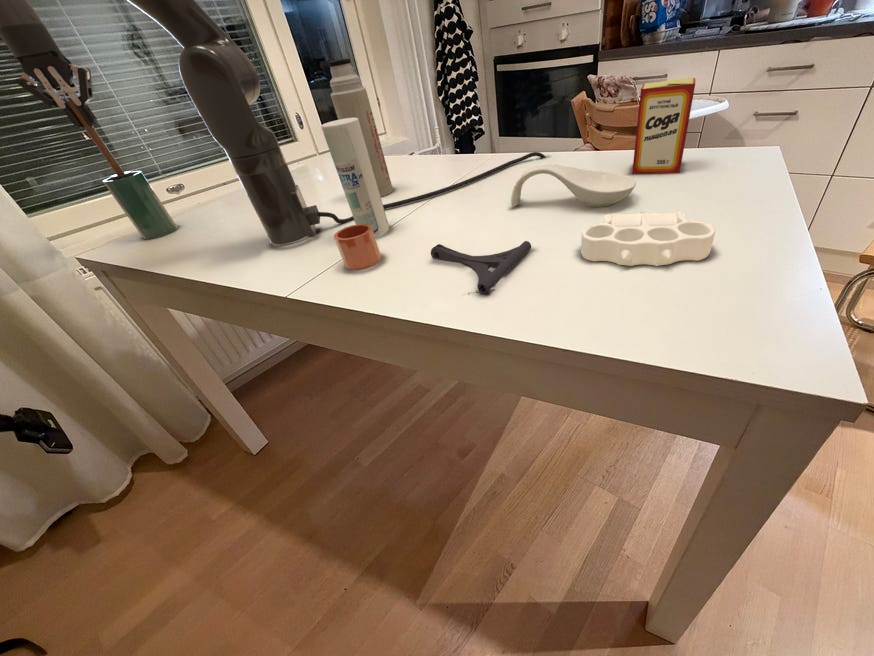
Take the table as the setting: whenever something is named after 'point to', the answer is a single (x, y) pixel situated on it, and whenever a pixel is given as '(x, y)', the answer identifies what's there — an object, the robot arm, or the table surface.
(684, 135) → the baking soda box
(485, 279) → the bracket
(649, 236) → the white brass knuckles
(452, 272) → the table surface
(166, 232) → the cup
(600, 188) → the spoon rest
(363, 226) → the holder
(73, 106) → the long wooden handle
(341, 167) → the spray can
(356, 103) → the thermos bottle
